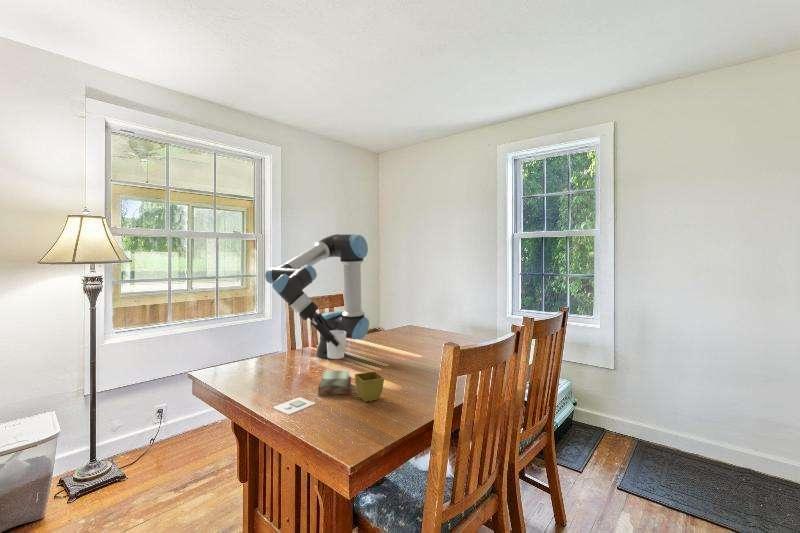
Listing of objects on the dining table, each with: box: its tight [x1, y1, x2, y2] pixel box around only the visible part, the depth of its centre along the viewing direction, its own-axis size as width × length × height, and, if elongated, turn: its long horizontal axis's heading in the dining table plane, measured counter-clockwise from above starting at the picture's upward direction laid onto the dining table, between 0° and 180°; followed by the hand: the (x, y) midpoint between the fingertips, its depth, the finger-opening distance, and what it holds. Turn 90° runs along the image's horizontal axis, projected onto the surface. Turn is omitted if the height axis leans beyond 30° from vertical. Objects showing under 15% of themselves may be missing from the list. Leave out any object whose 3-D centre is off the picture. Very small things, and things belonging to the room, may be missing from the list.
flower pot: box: [354, 370, 385, 403], centre depth 139 cm, size 9×9×9 cm
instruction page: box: [271, 396, 316, 416], centre depth 131 cm, size 12×9×1 cm
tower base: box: [317, 369, 352, 396], centre depth 148 cm, size 12×12×6 cm
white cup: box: [327, 330, 347, 360], centre depth 147 cm, size 8×8×10 cm
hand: (344, 347), depth 148 cm, fingers closed on white cup, 8 cm apart
